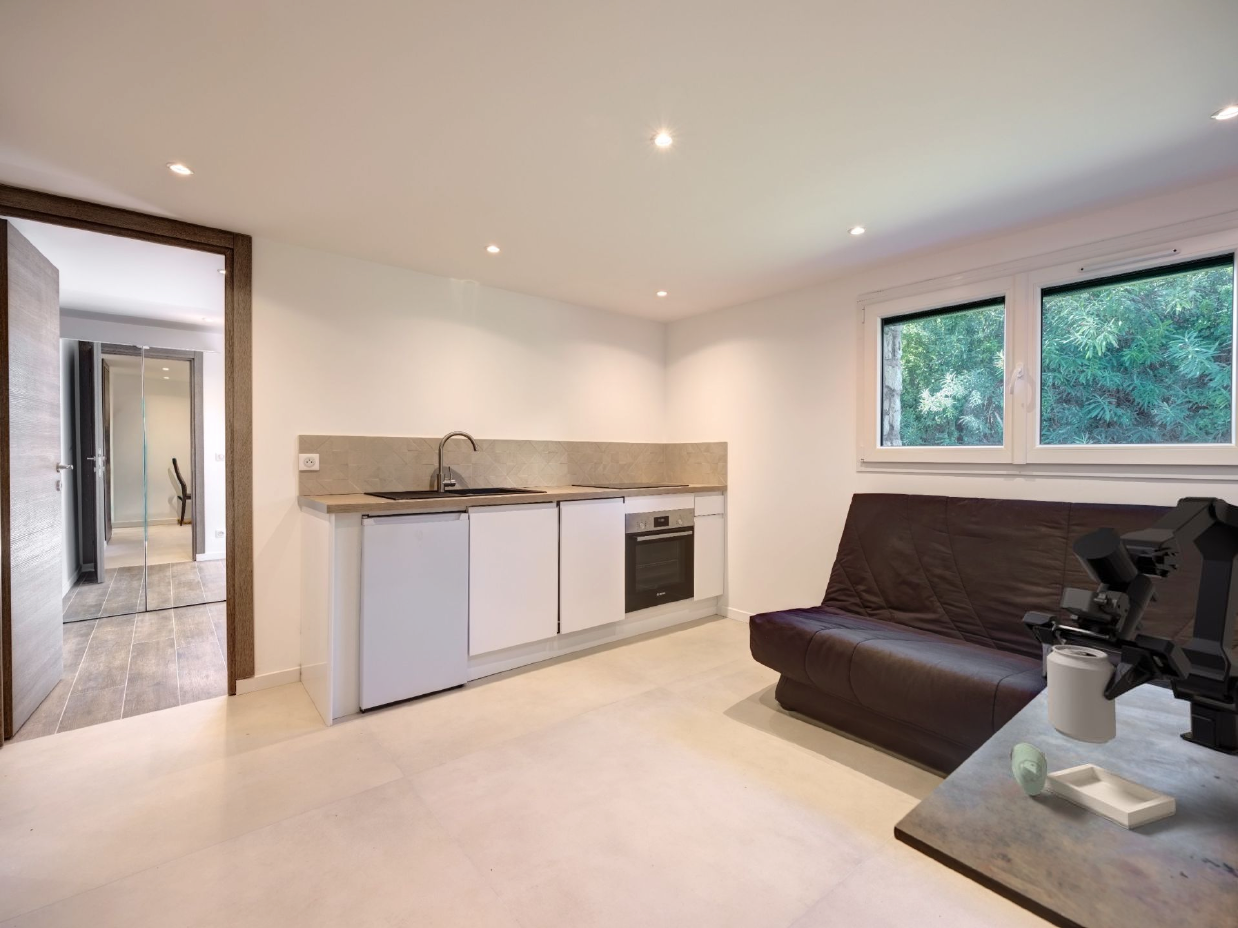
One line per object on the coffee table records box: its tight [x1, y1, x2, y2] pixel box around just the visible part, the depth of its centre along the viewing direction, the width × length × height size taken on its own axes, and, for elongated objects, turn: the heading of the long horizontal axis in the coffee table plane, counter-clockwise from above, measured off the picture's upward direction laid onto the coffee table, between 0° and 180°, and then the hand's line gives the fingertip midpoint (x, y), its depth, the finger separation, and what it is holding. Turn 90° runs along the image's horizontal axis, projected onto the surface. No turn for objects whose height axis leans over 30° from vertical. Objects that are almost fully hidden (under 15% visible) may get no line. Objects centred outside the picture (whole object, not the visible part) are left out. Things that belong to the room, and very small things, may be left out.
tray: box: [1044, 763, 1176, 830], centre depth 76 cm, size 10×10×2 cm
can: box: [1046, 644, 1117, 745], centre depth 80 cm, size 8×8×12 cm
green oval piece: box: [1009, 742, 1048, 797], centre depth 77 cm, size 8×4×7 cm, turn 136°
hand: (1074, 688), depth 80 cm, fingers closed on can, 7 cm apart
